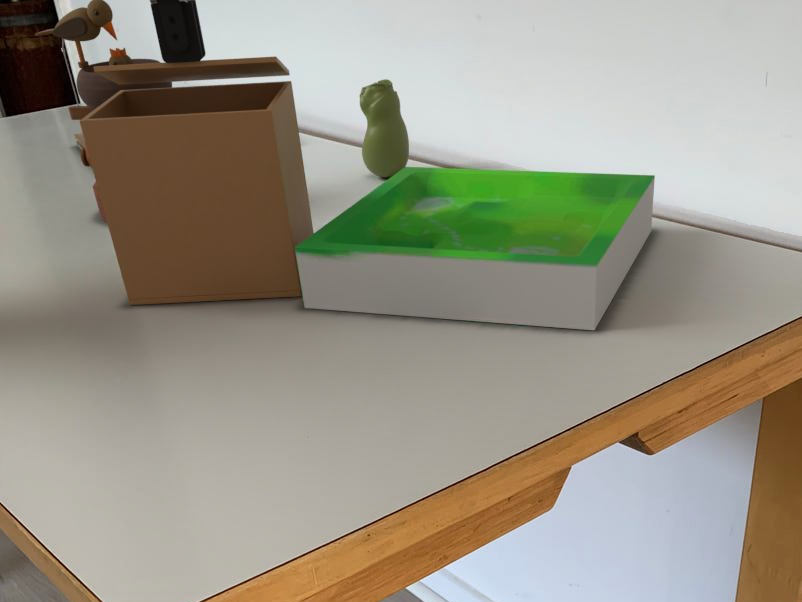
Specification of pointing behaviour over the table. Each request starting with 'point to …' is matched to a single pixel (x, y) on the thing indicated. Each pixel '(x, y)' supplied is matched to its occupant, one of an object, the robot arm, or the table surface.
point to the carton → (202, 190)
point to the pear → (383, 130)
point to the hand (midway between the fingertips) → (184, 59)
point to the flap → (193, 70)
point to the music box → (89, 83)
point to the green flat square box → (482, 246)
